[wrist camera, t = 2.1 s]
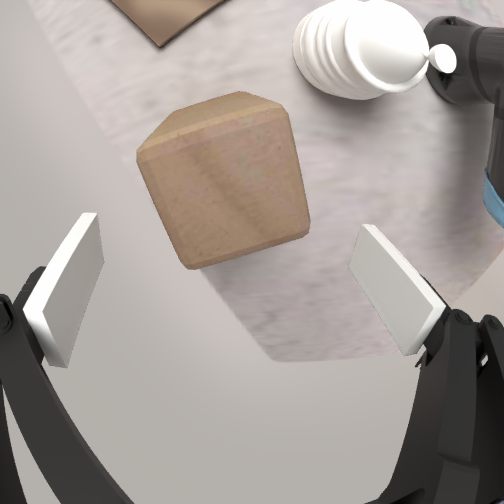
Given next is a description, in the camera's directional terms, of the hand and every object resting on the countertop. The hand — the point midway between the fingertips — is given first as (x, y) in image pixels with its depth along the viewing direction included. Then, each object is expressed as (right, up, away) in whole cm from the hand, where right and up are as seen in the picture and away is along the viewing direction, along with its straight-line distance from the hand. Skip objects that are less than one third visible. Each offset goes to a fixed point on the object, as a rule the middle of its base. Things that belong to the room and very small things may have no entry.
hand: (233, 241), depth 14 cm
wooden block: (-3, +14, +21) cm, 26 cm away
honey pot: (+12, +25, +17) cm, 33 cm away
